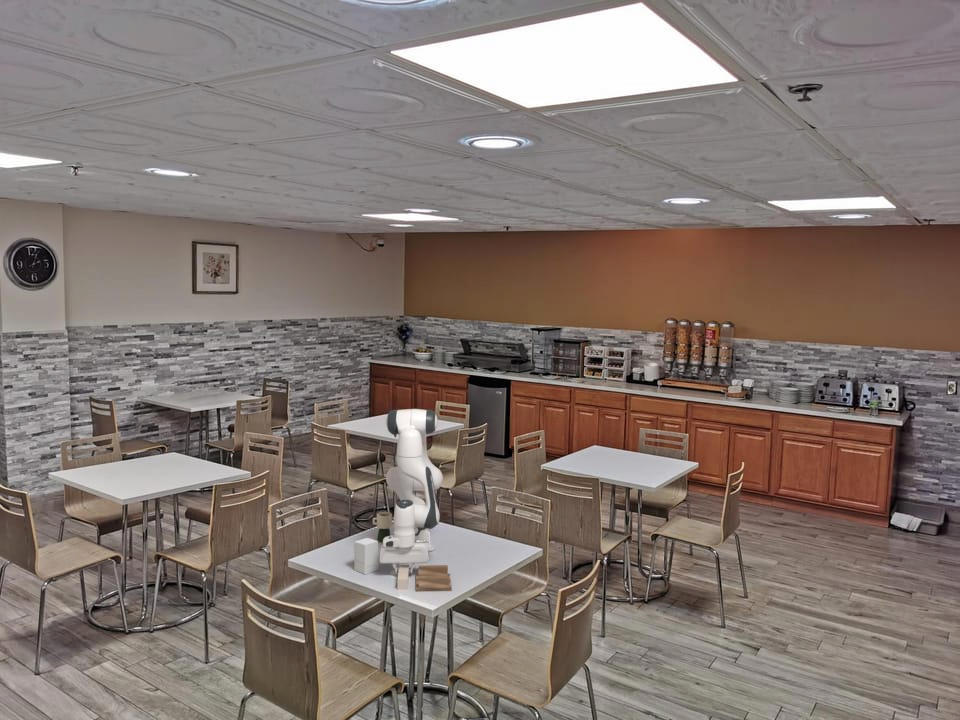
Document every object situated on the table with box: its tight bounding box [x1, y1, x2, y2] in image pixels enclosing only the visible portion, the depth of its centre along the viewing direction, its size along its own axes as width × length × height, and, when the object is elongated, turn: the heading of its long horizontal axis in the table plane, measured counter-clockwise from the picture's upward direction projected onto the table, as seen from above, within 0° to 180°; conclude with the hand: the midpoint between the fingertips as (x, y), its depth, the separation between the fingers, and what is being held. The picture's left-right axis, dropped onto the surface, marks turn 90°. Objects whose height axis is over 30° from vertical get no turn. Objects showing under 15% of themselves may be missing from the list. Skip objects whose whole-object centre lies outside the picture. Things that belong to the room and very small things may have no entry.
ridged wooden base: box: [415, 564, 453, 592], centre depth 287 cm, size 15×14×5 cm
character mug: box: [372, 511, 394, 543], centre depth 338 cm, size 11×7×13 cm, turn 97°
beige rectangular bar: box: [397, 564, 410, 590], centre depth 288 cm, size 16×4×4 cm, turn 4°
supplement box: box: [353, 537, 379, 575], centre depth 300 cm, size 7×7×13 cm
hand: (403, 572), depth 294 cm, fingers closed on beige rectangular bar, 4 cm apart
